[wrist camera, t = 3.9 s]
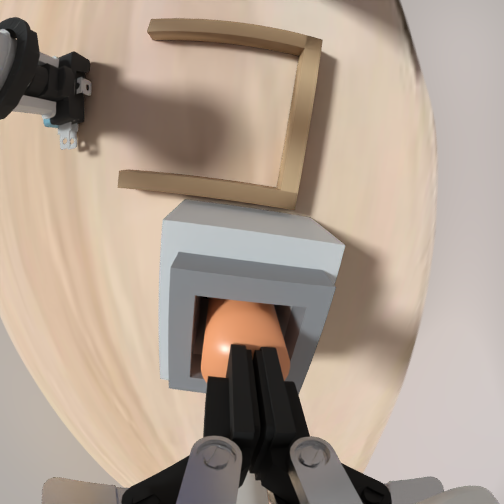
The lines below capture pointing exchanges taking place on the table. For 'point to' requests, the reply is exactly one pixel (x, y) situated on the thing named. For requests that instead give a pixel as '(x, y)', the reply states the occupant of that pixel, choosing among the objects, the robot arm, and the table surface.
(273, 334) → the breaker switch lever
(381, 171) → the table surface
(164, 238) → the box
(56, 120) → the push button
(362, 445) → the table surface
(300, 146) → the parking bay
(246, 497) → the lumpy-topped squat cylinder
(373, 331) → the table surface
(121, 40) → the table surface
